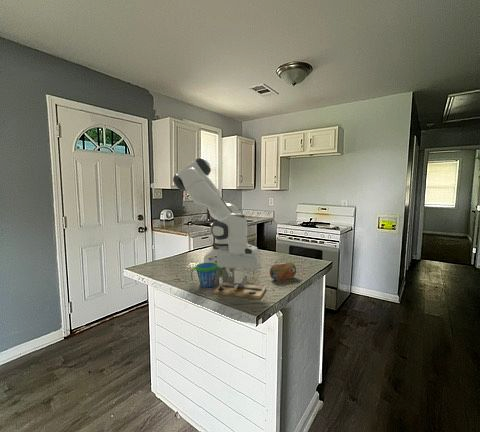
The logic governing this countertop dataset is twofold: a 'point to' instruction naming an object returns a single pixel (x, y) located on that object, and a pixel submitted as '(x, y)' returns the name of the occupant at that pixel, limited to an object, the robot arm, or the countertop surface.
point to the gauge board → (241, 290)
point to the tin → (282, 271)
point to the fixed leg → (220, 283)
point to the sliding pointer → (238, 278)
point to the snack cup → (207, 274)
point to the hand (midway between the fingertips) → (238, 277)
